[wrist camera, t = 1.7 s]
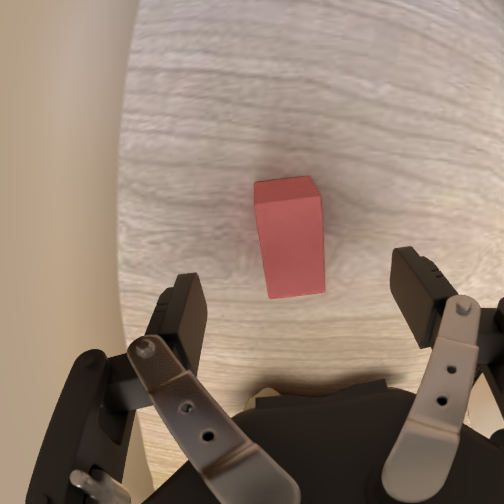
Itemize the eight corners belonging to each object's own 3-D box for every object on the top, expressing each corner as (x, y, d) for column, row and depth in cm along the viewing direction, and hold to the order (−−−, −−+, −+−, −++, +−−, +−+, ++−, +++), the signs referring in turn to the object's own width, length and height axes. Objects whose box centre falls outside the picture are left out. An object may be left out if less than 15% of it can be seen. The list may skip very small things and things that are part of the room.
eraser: (254, 182, 16) (253, 203, 13) (309, 175, 15) (321, 195, 13) (266, 267, 18) (268, 300, 15) (316, 260, 18) (325, 292, 15)
